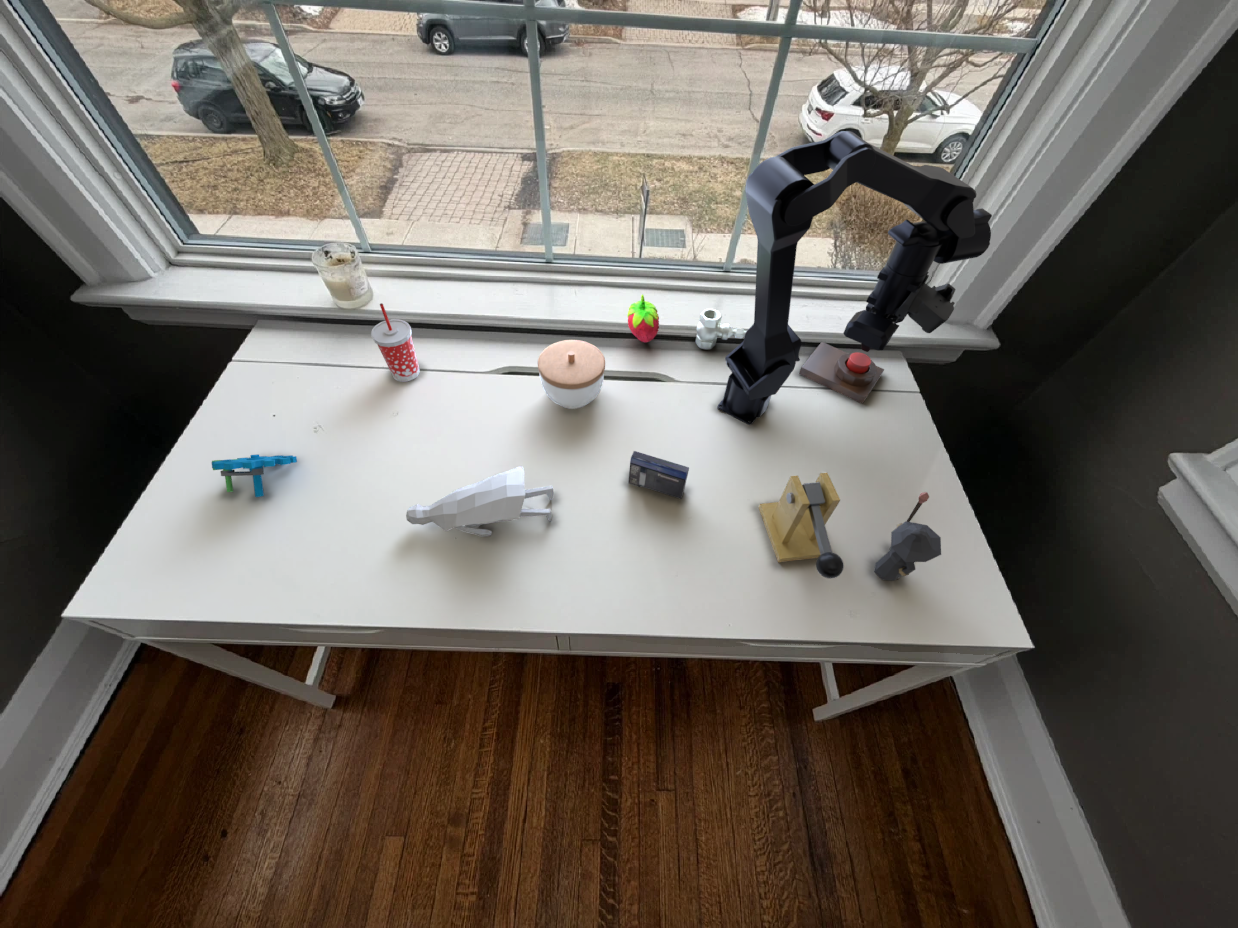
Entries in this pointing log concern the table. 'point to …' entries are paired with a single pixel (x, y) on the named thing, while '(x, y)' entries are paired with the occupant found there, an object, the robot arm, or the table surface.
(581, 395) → the trinket box
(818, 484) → the tap lever
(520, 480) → the superhero figure
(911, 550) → the wizard figurine
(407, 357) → the beverage cup
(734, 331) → the valve
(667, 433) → the table surface
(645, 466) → the mini dv tape
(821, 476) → the bracket
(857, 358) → the stop button
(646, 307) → the strawberry
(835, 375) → the control block
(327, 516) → the table surface
